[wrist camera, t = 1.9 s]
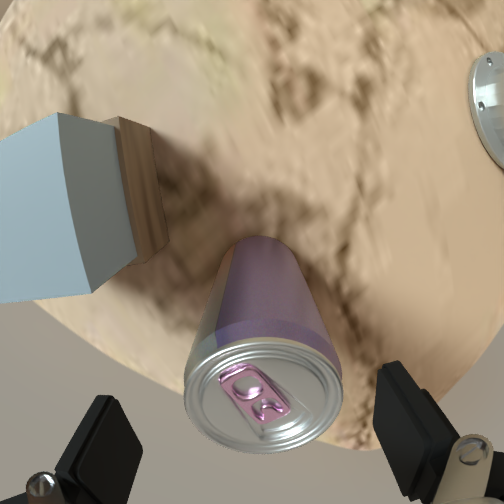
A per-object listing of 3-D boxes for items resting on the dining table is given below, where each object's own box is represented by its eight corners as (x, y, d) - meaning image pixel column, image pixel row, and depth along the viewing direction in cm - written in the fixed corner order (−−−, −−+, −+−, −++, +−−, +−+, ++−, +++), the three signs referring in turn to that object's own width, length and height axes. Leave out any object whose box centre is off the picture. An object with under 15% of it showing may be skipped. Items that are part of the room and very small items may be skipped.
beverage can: (270, 218, 23) (296, 300, 9) (311, 281, 24) (372, 415, 10) (205, 261, 24) (143, 384, 10) (248, 319, 25) (241, 471, 11)
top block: (113, 126, 16) (57, 112, 10) (137, 256, 18) (91, 293, 12) (20, 161, 16) (-41, 166, 11) (42, 272, 18) (-11, 304, 13)
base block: (150, 127, 22) (118, 116, 16) (170, 240, 24) (144, 263, 18) (58, 156, 22) (14, 157, 16) (77, 257, 24) (38, 279, 18)
